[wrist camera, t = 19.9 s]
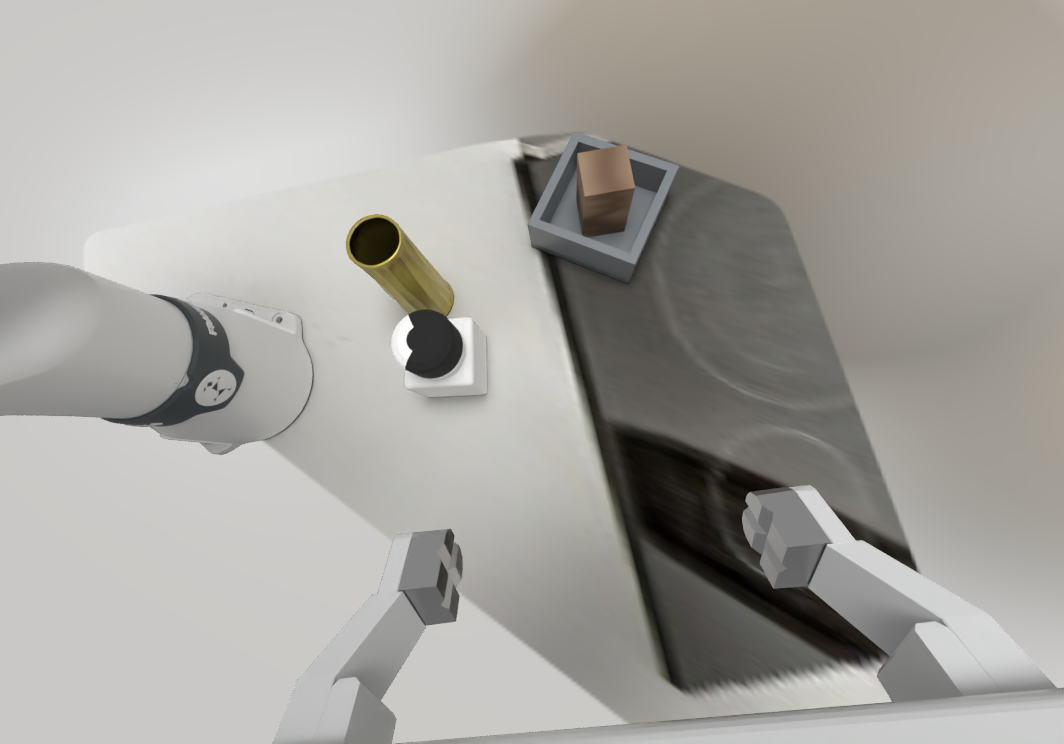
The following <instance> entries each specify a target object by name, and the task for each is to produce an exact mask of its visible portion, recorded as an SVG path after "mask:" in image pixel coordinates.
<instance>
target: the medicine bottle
mask: <svg viewBox="0 0 1064 744" xmlns="http://www.w3.org/2000/svg"><path fill="white" fill-rule="evenodd" d="M391 350H392V354H393V356H394V358H395V360H396V362H397V363H398V364H399V365H400V366H401V367H402V368H404V369H405V371H404V387H405V388H406V389H408V390H411V391H413V392H416V393H419V394H422V395H424V396H427V397H446V396H465V395H484V394H486V393H487V347H486V336H485V334H484V333H483V332H482V330H481V329H480V328H479V326H478V325H477V324H476V322H475V321H474V320H473V318H471V317H463V318H449V319H448V318H447V317H445V316H444V315H443V314H441V313H439V312H437V311H434V310H428V309H424V310H417V311H414V312H412V313H410V314H408V315H407V316H405V317H404V318H403V319H402V320H401V321H400V322H399V323H398V324H397V326H396V327H395V329H394V332H393V334H392V339H391Z"/></svg>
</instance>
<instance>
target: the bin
mask: <svg viewBox="0 0 1064 744" xmlns="http://www.w3.org/2000/svg"><path fill="white" fill-rule="evenodd" d="M615 146H616V145H613V144H610V143H607V142H604V141H601V140H598V139H595V138H592V137H589V136H585V135H582V134H579V133H576V132H573V134H572V136H571V138H570V140H569V142H568V144H567V146H566V149H565V151H564V153H563V155H562V157H561V159H560V161H559V163H558V165H557V167H556V169H555V171H554V173H553V175H552V177H551V179H550V181H549V183H548V185H547V187H546V189H545V191H544V193H543V195H542V197H541V199H540V201H539V203H538V205H537V207H536V209H535V211H534V213H533V215H532V217H531V219H530V221H529V223H528V229H529V234H530V240H531V245H532V247H533V248H536V249H539V250H541V251H544V252H546V253H549V254H552V255H554V256H557V257H559V258H562V259H565V260H567V261H570V262H572V263H575V264H578V265H580V266H583V267H585V268H588V269H591V270H593V271H596V272H598V273H601V274H604V275H606V276H609V277H611V278H614V279H617V280H619V281H622V282H624V283H627V284H628V283H629V281H630V279H631V277H632V274H633V272H634V270H635V268H636V265H637V263H638V261H639V259H640V257H641V254H642V252H643V250H644V248H645V245H646V243H647V241H648V239H649V236H650V234H651V232H652V230H653V228H654V225H655V223H656V221H657V219H658V216H659V214H660V212H661V210H662V207H663V205H664V203H665V201H666V199H667V196H668V194H669V191H670V189H671V186H672V184H673V181H674V178H675V176H676V173H677V171H678V168H679V166H678V165H675V164H672V163H669V162H666V161H663V160H659V159H656V158H653V157H650V156H647V155H644V154H641V153H638V152H635V151H632V150H629V149H628V154H629V160H630V165H631V170H632V175H633V180H634V185H635V190H634V194H633V198H632V202H631V206H630V211H629V215H628V219H627V223H626V227H625V231H623V232H617V233H611V234H605V235H599V236H593V237H585V236H582V233H581V227H580V221H579V214H578V208H577V202H576V193H577V153H582V152H587V151H593V150H598V149H604V148H610V147H615Z"/></svg>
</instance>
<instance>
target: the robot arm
mask: <svg viewBox="0 0 1064 744" xmlns="http://www.w3.org/2000/svg"><path fill="white" fill-rule="evenodd" d="M281 319H283V320H282V322H281V323H280V321H281ZM312 373H313V372H312V363H311V359H310V356H309V353H308V351H307V349H306V347H305V345H304V343H303V340H302V324H301V320H300V318H299V316H297V315H295V314H292V313H289V312H285V311H280V310H276V309H271V308H267V307H262V306H258V305H254V304H249V303H245V302H240V301H236V300H231V299H227V298H222V297H218V296H213V295H209V294H204V293H196V294H194V295H193V296H191V297H189V298H188V299H187V300H183V299H178V298H173V297H167V296H162V295H152V294H147V293H144V292H141V291H138V290H136V289H133V288H130V287H127V286H125V285H122V284H119V283H116V282H114V281H111V280H108V279H106V278H103V277H100V276H97V275H95V274H92V273H89V272H86V271H84V270H81V269H78V268H75V267H72V266H69V265H63V264H56V263H43V262H24V263H10V264H2V265H0V416H4V415H48V416H82V417H100V418H102V419H104V420H107V421H109V422H113V423H120V424H125V425H130V426H139V427H148V426H149V427H151V428H152V429H154V430H155V431H157V432H158V433H160V437H162V438H165V439H169V440H179V441H190V442H200V443H201V444H202V445H203V446H204V447H205V448H206V449H207V450H208V451H209V452H211V453H213V454H220V455H222V454H226V453H228V452H230V451H232V450H234V449H235V448H237V447H238V446H240V445H242V444H245V443H248V442H254V441H260V440H264V439H267V438H270V437H272V436H274V435H276V434H278V433H280V432H281V431H283V430H284V429H285V428H287V427H288V426H289V425H290V424H291V423H292V422H293V421H294V420H295V419H296V418H297V416H298V415H299V414H300V412H301V411H302V409H303V407H304V405H305V403H306V401H307V399H308V396H309V394H310V390H311V386H312ZM746 502H747V504H748V506H749V507H748V508H747V509H746V510H745V511H743V517H742V522H743V528H744V532H745V535H746V537H747V539H748V541H749V543H750V545H751V547H752V548H753V549H755V550H756V551H758V552H759V553H760V554H762V556H761V560H760V564H761V566H762V568H763V570H764V572H765V574H766V576H767V577H768V579H769V581H770V583H771V585H772V587H773V588H785V587H798V586H809V587H808V588H809V589H811V590H812V591H813V592H814V593H815V594H817V595H818V596H819V597H820V598H821V599H822V600H824V601H825V602H826V603H827V604H828V605H830V606H831V607H832V608H833V609H834V610H836V611H837V612H838V613H839V614H840V615H842V616H843V617H844V618H845V619H846V620H848V621H849V622H850V623H851V624H852V625H854V626H855V627H856V628H857V629H858V630H860V631H861V632H862V633H863V634H864V635H866V636H867V637H868V638H869V639H870V640H872V641H873V642H874V643H875V644H876V645H877V646H879V647H880V648H881V649H882V650H883V651H885V652H886V653H887V654H888V655H889V656H890V657H889V658H888V659H887V661H886V662H885V663H884V664H883V666H882V667H881V668H880V669H879V672H878V675H877V678H878V679H879V681H880V682H881V684H882V686H883V687H884V689H885V690H886V692H887V694H888V695H889V697H890V699H891V700H892V702H887V703H875V704H864V705H852V706H840V707H828V708H816V709H804V710H792V711H780V712H768V713H756V714H744V715H732V716H720V717H708V718H696V719H684V720H672V721H660V722H648V723H636V724H624V725H614V726H613V725H612V726H600V727H589V728H576V729H564V730H554V731H541V732H529V733H517V734H505V735H493V736H481V737H469V738H457V739H445V740H433V741H422V742H410V743H397V744H1064V688H1056V686H1055V685H1054V684H1053V683H1052V682H1051V681H1050V680H1049V679H1048V678H1047V677H1046V676H1045V674H1044V673H1043V672H1042V671H1041V670H1040V669H1039V668H1038V667H1037V666H1036V665H1035V664H1034V663H1033V662H1032V661H1031V659H1030V658H1029V657H1028V656H1027V655H1026V654H1025V653H1024V652H1023V651H1022V650H1021V649H1020V648H1019V646H1018V645H1017V644H1016V643H1015V642H1014V641H1013V640H1012V639H1011V638H1010V637H1009V636H1008V635H1007V633H1006V632H1005V631H1004V630H1003V629H1002V628H1001V627H1000V626H999V625H998V624H997V623H996V622H995V621H994V620H993V618H992V617H991V616H990V615H989V614H987V613H985V612H984V611H982V610H980V609H978V608H977V607H975V606H973V605H971V604H970V603H968V602H966V601H965V600H963V599H961V598H959V597H958V596H956V595H955V594H953V593H951V592H950V591H948V590H946V589H944V588H943V587H941V586H939V585H938V584H936V583H934V582H932V581H931V580H929V579H927V578H926V577H924V576H922V575H921V574H919V573H917V572H915V571H914V570H912V569H910V568H909V567H907V566H905V565H903V564H902V563H900V562H898V561H897V560H895V559H893V558H892V557H890V556H888V555H886V554H885V553H883V552H881V551H880V550H878V549H876V548H875V547H873V546H871V545H869V544H868V543H866V542H864V541H863V540H861V541H856V540H855V539H854V538H853V536H852V535H851V534H850V533H849V531H848V530H847V529H846V527H845V526H844V525H843V524H842V522H841V521H840V520H839V519H838V517H837V516H836V515H835V513H834V512H833V511H832V510H831V508H830V507H829V506H828V505H827V503H826V502H825V501H824V500H823V498H822V497H821V496H820V494H819V493H818V492H817V491H816V489H815V488H813V487H812V486H810V485H803V486H796V487H789V488H788V487H784V488H776V489H769V490H762V491H755V492H750V493H749V494H747V498H746ZM453 541H454V534H453V532H452V530H451V529H444V530H434V531H425V532H414V533H405V534H397V536H396V537H395V539H394V540H393V543H392V546H391V550H390V553H389V556H388V560H387V563H386V566H385V569H384V573H383V576H382V579H381V583H380V587H379V590H378V593H377V594H372V595H371V596H370V597H369V599H368V600H367V601H366V602H365V603H364V604H363V606H362V607H361V608H360V609H359V610H358V611H357V612H356V614H355V615H354V616H353V617H352V618H351V619H350V621H349V622H348V623H347V624H346V625H345V626H344V627H343V629H342V630H341V631H340V632H339V633H338V634H337V635H336V637H335V638H334V639H333V640H332V641H331V642H330V644H329V645H328V646H327V647H326V648H325V649H324V650H323V652H322V653H321V654H320V655H319V656H318V657H317V659H316V660H315V661H314V662H313V663H312V664H311V665H310V667H309V668H308V669H307V670H306V671H305V672H304V673H303V675H302V676H301V677H300V678H299V679H298V680H297V683H296V685H295V688H294V690H293V693H292V695H291V698H290V700H289V703H288V706H287V708H286V710H285V713H284V716H283V718H282V721H281V723H280V726H279V728H278V731H277V733H276V736H275V738H274V741H273V744H392V739H393V734H394V729H395V723H396V718H395V716H394V714H393V713H392V712H391V711H390V710H389V709H388V708H387V707H386V706H385V705H384V704H383V703H382V702H381V699H382V698H383V696H384V694H385V693H386V691H387V690H388V688H389V686H390V685H391V683H392V681H393V680H394V678H395V677H396V675H397V673H398V672H399V670H400V669H401V667H402V665H403V664H404V662H405V660H406V659H407V657H408V656H409V654H410V652H411V651H412V649H413V647H414V646H415V644H416V643H417V641H418V640H419V638H420V636H421V635H422V633H423V631H424V630H425V628H426V627H425V626H426V625H432V624H440V623H448V622H455V621H456V617H457V610H458V602H459V594H458V592H457V590H456V588H455V587H456V586H457V585H458V583H459V582H460V581H461V579H462V570H463V564H462V554H461V550H460V547H459V545H458V544H456V543H454V542H453Z"/></svg>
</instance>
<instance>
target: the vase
mask: <svg viewBox="0 0 1064 744" xmlns="http://www.w3.org/2000/svg"><path fill="white" fill-rule="evenodd" d="M346 249H347V254H348V256H349V258H350V259H351V260H352V261H353V262H354V263H355V264H356V265H358V266H359V267H360V268H362V269H363V270H364V271H365V272H366V273H368V274H369V275H370V276H371V277H372V278H373V279H375V280H376V281H377V283H378V284H379V285H380V286H381V287H382V288H383V289H384V291H385V292H386V293H387V294H389V295H390V296H391V297H392V298H393V299H395V300H396V301H397V302H398V303H399V304H400V305H401V306H402V308H403V309H404V310H405V311H406V312H408V314H410V313H412V312H414V311H417V310H424V309H428V310H434V311H437V312H439V313H441V314H443V315H444V316H446V315H447V314H448V312H449V311H450V309H451V307H452V304H453V291H452V289H451V287H450V285H449V284H448V283H447V282H446V281H445V280H444V279H443V278H442V277H441V275H440V274H439V273H438V272H437V271H436V270H435V269H434V267H433V266H432V265H431V264H430V263H429V261H428V260H427V259H426V258H425V257H424V256H423V254H422V253H421V252H420V251H419V250H418V248H417V247H416V246H415V245H414V244H413V242H412V241H411V240H410V239H409V238H408V236H407V235H406V234H405V233H404V232H403V230H402V229H401V228H400V226H399V225H398V224H397V223H396V222H395V221H393V220H392V219H391V218H389V217H387V216H384V215H379V214H375V215H370V216H366V217H364V218H362V219H360V220H359V221H357V222H356V223H355V224H354V225H353V227H352V228H351V229H350V231H349V234H348V236H347V240H346Z"/></svg>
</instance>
